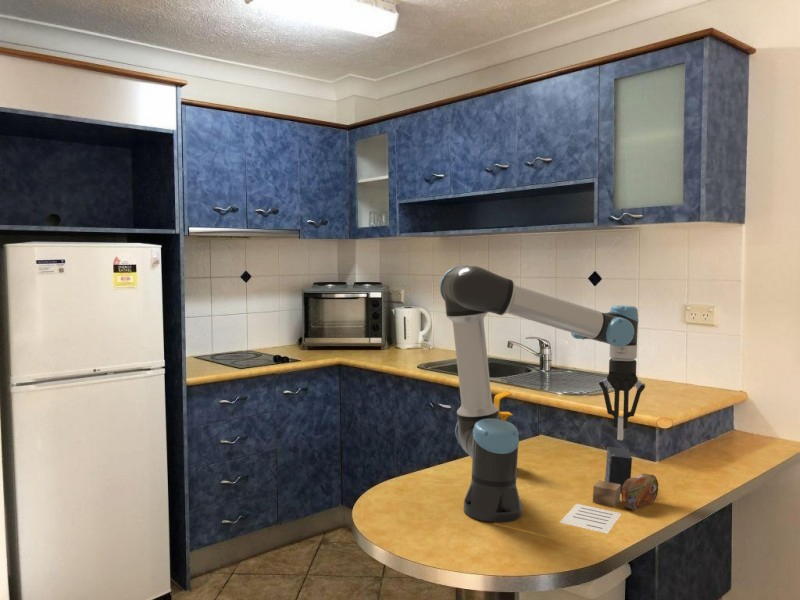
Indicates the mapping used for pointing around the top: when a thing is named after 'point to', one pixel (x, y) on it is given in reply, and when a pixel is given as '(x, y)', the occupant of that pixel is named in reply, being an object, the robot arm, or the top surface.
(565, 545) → the top surface
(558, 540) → the top surface
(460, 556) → the top surface
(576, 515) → the letter
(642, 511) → the top surface
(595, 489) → the walnut block
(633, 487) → the tin
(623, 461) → the small box
